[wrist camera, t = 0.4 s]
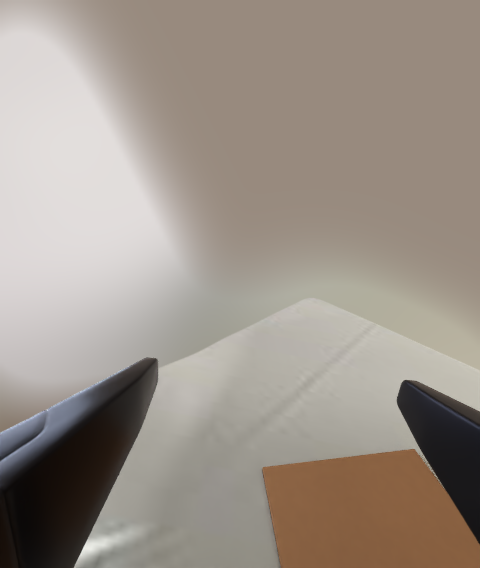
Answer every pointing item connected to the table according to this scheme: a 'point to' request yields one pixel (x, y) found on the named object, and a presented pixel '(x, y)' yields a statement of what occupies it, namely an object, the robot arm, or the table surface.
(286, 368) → the table surface
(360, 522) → the desk pad
